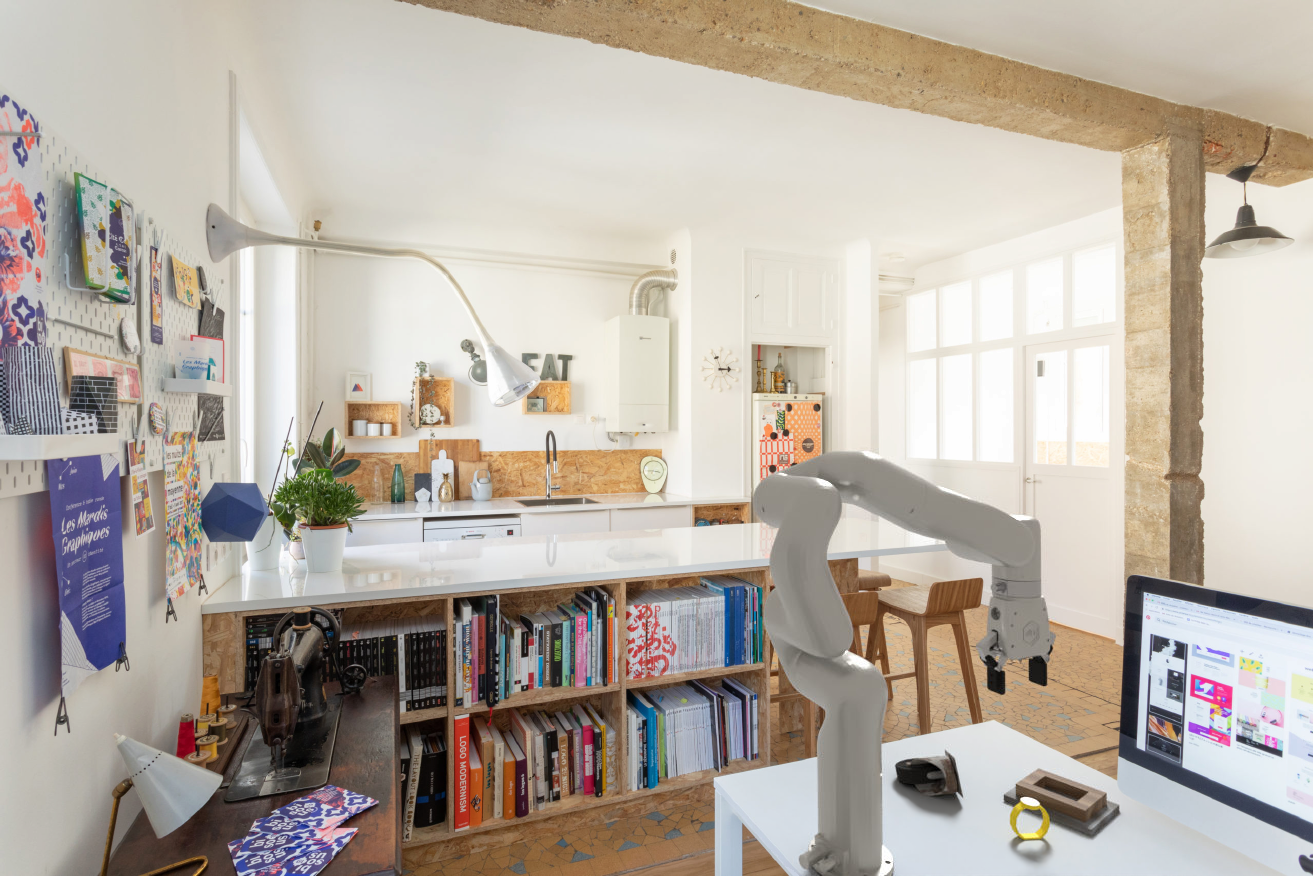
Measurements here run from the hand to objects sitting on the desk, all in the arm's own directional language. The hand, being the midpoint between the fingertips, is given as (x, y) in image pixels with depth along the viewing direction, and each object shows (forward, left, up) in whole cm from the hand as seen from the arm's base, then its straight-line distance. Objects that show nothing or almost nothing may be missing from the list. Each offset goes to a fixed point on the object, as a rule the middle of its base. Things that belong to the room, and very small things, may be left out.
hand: (1017, 687), depth 117 cm
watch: (-5, -4, -22) cm, 23 cm away
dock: (+9, -3, -22) cm, 24 cm away
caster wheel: (-4, +15, -22) cm, 27 cm away
